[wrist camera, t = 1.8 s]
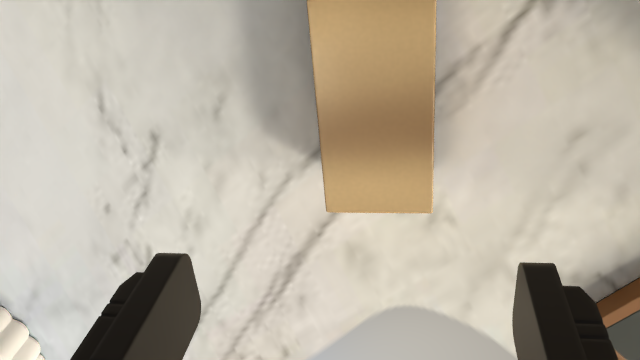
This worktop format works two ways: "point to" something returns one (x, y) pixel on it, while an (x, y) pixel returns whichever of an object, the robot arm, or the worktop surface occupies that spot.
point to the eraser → (375, 102)
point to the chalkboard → (623, 320)
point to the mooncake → (16, 340)
